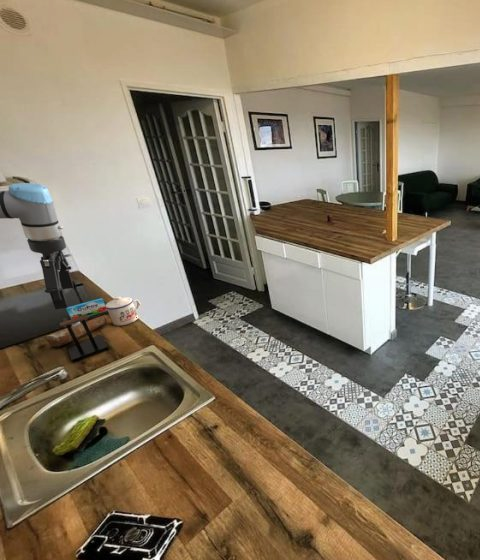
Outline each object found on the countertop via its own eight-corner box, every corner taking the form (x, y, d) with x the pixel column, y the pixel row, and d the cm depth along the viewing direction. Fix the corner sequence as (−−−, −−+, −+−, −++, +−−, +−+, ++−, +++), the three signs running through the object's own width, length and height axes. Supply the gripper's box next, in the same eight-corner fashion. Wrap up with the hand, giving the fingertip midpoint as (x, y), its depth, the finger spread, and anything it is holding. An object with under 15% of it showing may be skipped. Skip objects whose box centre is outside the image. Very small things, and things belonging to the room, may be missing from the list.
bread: (47, 347, 117) (41, 335, 115) (102, 321, 134) (97, 310, 131) (59, 350, 115) (52, 338, 113) (113, 324, 132) (108, 313, 130)
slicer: (109, 349, 117) (94, 318, 111) (73, 362, 110) (56, 330, 104) (101, 337, 124) (87, 307, 118) (67, 348, 117) (51, 317, 111)
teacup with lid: (123, 327, 130) (112, 303, 125) (107, 324, 132) (96, 300, 127) (150, 313, 140) (142, 291, 135) (135, 310, 142) (127, 288, 137)
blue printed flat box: (107, 309, 143) (102, 297, 140) (107, 310, 142) (102, 299, 139) (71, 320, 134) (65, 307, 132) (72, 321, 133) (66, 309, 131)
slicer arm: (89, 319, 106) (86, 313, 106) (61, 328, 101) (58, 321, 101) (89, 321, 115) (86, 315, 115) (63, 329, 110) (60, 323, 110)
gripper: (55, 251, 87) (76, 315, 96) (68, 223, 104) (85, 279, 113) (15, 253, 82) (40, 319, 91) (36, 224, 100) (55, 282, 109)
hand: (65, 297), depth 102 cm, fingers open, 13 cm apart
